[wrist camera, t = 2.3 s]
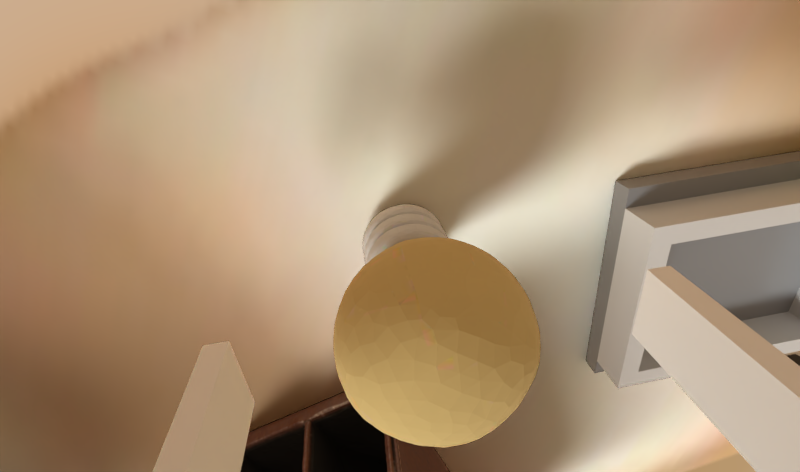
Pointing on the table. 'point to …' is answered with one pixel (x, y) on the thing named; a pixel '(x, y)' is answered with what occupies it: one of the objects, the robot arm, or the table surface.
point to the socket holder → (701, 254)
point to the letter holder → (333, 444)
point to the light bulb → (433, 334)
